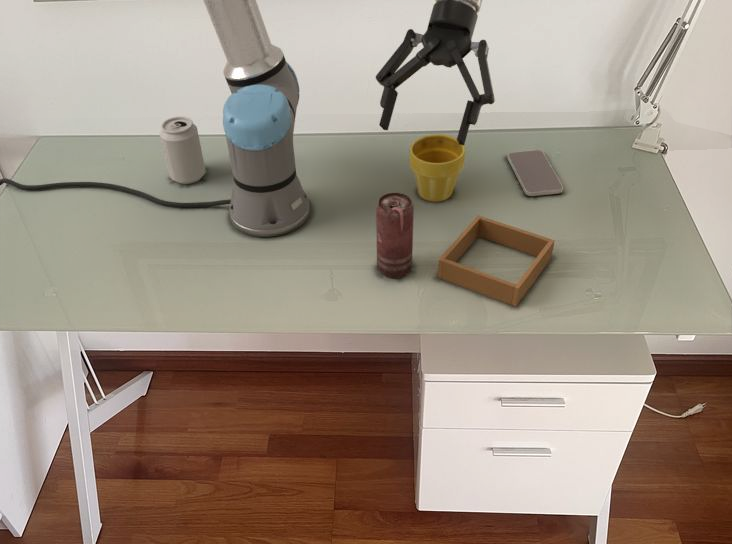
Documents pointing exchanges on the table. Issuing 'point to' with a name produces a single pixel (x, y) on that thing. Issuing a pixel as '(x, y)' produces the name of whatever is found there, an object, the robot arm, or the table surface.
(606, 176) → the table surface
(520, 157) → the smartphone
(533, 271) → the wooden square frame
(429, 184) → the flower pot
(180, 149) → the can
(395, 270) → the can
